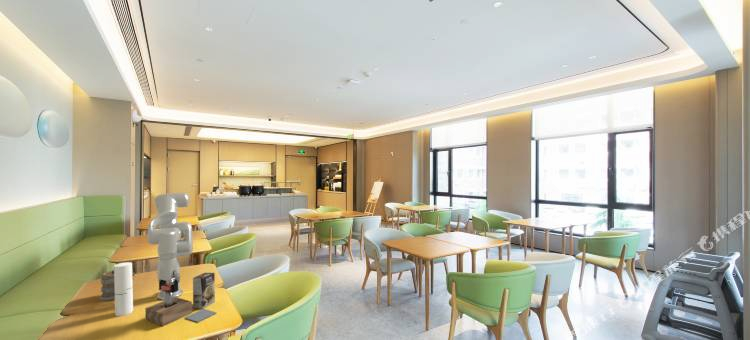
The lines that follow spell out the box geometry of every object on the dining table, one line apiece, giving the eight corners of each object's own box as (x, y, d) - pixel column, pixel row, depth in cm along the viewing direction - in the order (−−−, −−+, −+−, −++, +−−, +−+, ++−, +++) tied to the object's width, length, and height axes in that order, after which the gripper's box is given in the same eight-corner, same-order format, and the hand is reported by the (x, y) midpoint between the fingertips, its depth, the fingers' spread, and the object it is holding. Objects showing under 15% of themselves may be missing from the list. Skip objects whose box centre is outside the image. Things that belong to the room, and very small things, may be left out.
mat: (184, 318, 151) (184, 317, 151) (203, 309, 160) (203, 308, 160) (197, 322, 146) (197, 321, 146) (216, 313, 155) (216, 312, 155)
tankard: (94, 299, 174) (94, 273, 174) (118, 290, 186) (117, 266, 186) (121, 302, 169) (121, 275, 169) (144, 293, 182) (143, 268, 181)
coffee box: (203, 309, 160) (202, 278, 160) (192, 308, 162) (192, 277, 161) (215, 301, 169) (215, 272, 169) (205, 300, 170) (205, 271, 170)
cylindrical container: (136, 310, 160) (135, 262, 159) (121, 316, 153) (120, 267, 153) (127, 308, 162) (126, 261, 162) (111, 314, 155) (110, 265, 155)
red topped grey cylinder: (159, 318, 151) (158, 286, 151) (171, 312, 157) (171, 281, 156) (166, 320, 149) (165, 287, 148) (179, 315, 154) (178, 283, 154)
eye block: (145, 320, 149) (145, 308, 149) (174, 308, 162) (174, 296, 162) (162, 326, 143) (162, 313, 143) (191, 313, 156) (191, 301, 156)
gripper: (149, 256, 153) (150, 290, 153) (170, 260, 145) (171, 296, 145) (165, 252, 159) (166, 284, 160) (186, 255, 152) (187, 290, 152)
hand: (168, 290), depth 152 cm, fingers open, 9 cm apart
